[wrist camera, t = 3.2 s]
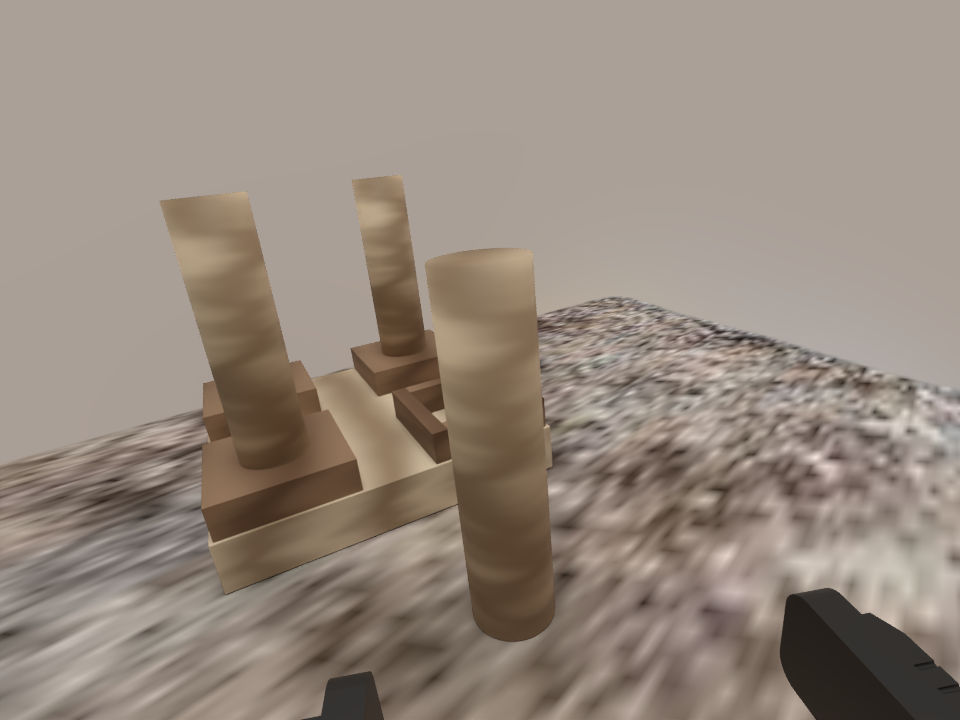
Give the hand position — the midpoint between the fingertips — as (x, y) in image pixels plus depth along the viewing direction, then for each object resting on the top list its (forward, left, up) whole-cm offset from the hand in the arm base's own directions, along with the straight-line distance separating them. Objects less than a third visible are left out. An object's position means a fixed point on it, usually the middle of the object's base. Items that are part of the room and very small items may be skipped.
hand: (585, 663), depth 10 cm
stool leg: (-2, +11, -10) cm, 15 cm away
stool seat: (-13, +26, -10) cm, 31 cm away
